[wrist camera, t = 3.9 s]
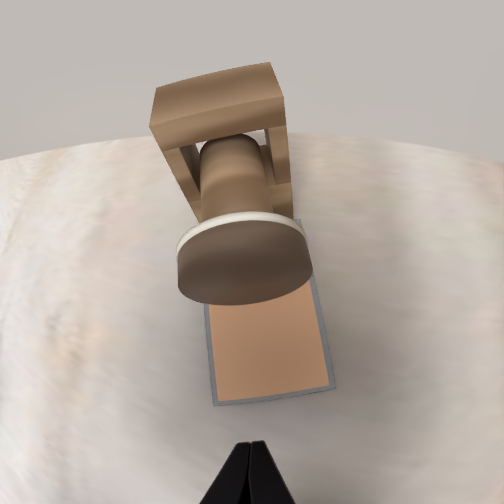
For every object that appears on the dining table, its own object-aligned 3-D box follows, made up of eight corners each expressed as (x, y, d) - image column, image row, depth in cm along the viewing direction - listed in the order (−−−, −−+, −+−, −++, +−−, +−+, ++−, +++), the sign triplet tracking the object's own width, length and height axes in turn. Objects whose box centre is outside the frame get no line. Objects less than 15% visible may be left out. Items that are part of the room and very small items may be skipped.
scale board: (334, 388, 19) (336, 387, 18) (216, 405, 19) (213, 406, 18) (300, 223, 25) (300, 217, 24) (201, 241, 25) (199, 236, 24)
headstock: (293, 222, 25) (283, 96, 14) (207, 238, 25) (149, 126, 15) (284, 183, 27) (269, 62, 16) (205, 199, 27) (156, 87, 16)
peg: (311, 293, 18) (316, 237, 12) (200, 312, 18) (154, 266, 12) (284, 178, 21) (277, 105, 16) (194, 196, 22) (162, 130, 16)
